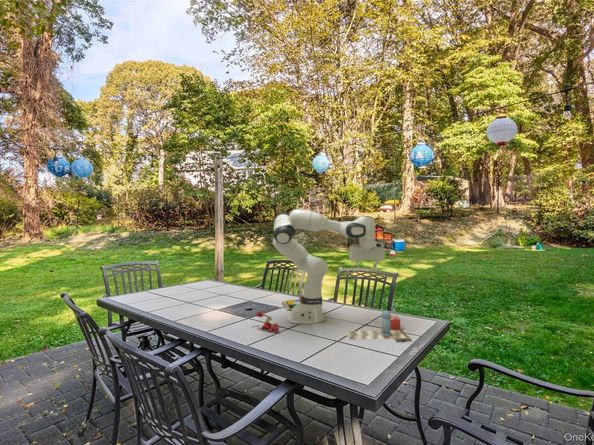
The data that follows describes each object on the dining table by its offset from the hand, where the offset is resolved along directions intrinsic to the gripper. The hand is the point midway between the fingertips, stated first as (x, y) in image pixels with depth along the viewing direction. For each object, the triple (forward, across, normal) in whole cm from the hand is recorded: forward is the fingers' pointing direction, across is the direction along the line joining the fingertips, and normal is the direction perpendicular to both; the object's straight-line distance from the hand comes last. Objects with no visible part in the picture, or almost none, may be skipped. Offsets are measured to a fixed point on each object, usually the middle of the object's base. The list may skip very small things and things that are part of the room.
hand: (366, 267), depth 192 cm
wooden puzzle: (+35, -38, +42) cm, 67 cm away
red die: (+34, +14, -5) cm, 37 cm away
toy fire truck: (+34, -57, -3) cm, 67 cm away
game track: (+34, 0, -17) cm, 38 cm away
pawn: (+33, +6, -17) cm, 37 cm away
